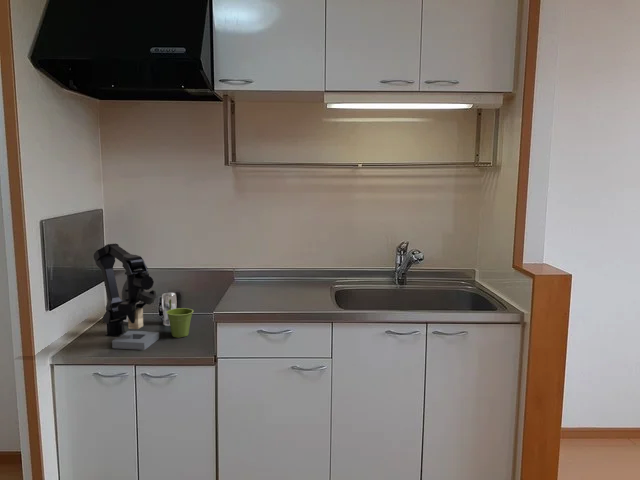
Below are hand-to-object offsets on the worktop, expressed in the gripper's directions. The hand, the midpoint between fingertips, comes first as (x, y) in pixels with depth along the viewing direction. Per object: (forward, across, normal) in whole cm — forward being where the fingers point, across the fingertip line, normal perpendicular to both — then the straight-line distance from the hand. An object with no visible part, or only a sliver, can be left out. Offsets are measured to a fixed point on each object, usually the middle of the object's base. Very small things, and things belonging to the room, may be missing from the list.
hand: (135, 321), depth 200 cm
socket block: (+10, 0, 0) cm, 10 cm away
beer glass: (+10, +28, -3) cm, 30 cm away
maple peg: (+2, 0, 0) cm, 2 cm away
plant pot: (+10, +12, -15) cm, 22 cm away
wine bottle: (+10, +27, +16) cm, 33 cm away
